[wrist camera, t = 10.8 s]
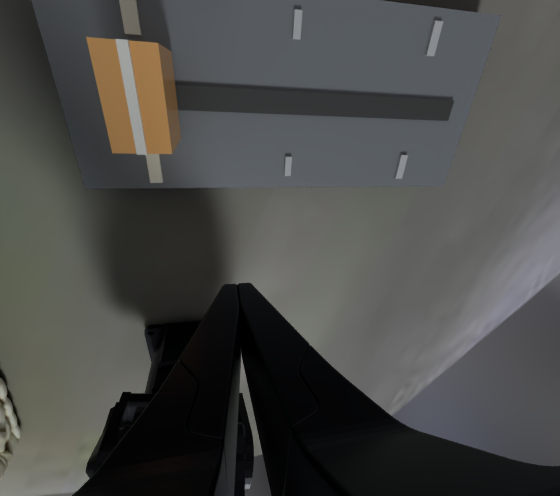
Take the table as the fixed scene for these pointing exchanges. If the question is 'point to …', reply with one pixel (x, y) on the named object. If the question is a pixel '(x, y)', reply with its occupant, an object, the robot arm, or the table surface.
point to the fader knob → (136, 95)
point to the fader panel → (279, 89)
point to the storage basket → (7, 429)
